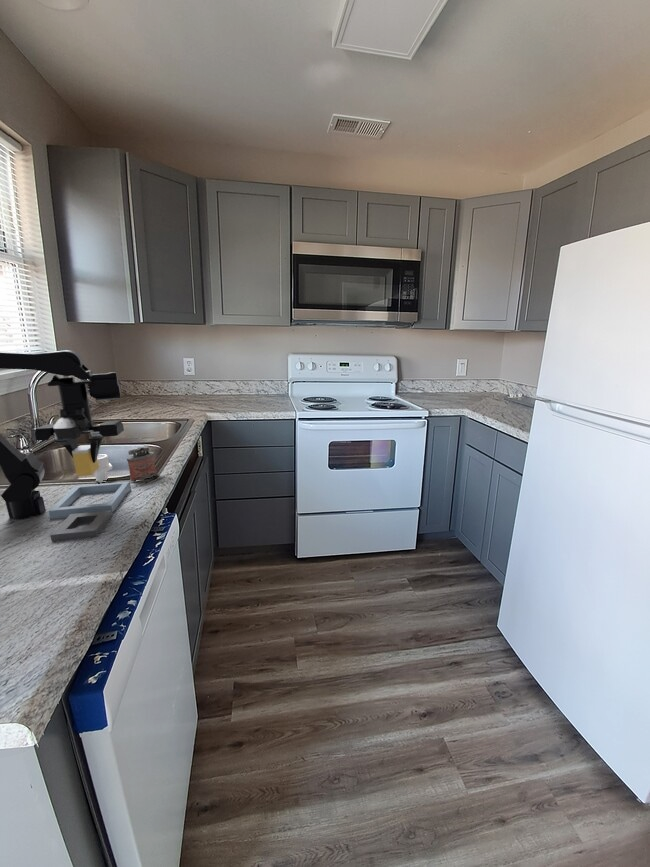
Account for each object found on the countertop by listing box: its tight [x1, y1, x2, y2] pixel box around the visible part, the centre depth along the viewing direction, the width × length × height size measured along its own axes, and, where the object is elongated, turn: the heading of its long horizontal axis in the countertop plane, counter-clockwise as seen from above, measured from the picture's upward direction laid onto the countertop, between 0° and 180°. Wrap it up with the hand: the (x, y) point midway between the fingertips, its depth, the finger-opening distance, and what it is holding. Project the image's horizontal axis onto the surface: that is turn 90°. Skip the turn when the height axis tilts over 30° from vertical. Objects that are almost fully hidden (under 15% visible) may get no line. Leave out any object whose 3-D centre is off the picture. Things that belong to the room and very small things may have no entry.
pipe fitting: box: [93, 453, 113, 482], centre depth 121 cm, size 6×7×8 cm
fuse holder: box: [50, 510, 113, 542], centre depth 91 cm, size 9×10×2 cm
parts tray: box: [48, 480, 132, 519], centre depth 105 cm, size 14×16×3 cm
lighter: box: [126, 446, 157, 481], centre depth 122 cm, size 8×3×10 cm, turn 141°
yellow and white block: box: [72, 444, 99, 477], centre depth 102 cm, size 4×5×6 cm
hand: (86, 462), depth 102 cm, fingers closed on yellow and white block, 3 cm apart
